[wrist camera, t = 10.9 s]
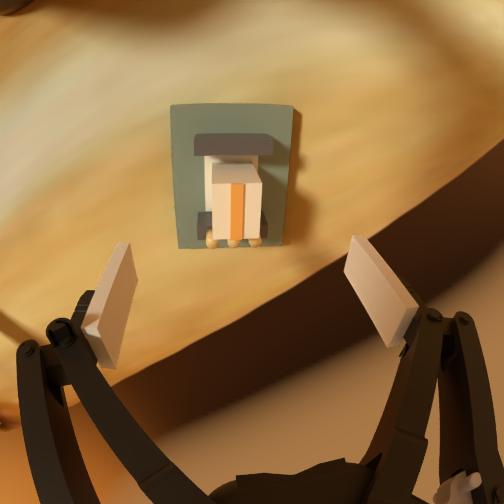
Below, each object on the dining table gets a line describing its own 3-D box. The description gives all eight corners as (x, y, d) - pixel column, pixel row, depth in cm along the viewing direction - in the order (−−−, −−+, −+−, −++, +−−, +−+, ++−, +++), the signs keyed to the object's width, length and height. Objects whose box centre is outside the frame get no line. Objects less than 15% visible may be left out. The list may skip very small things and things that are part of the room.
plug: (212, 162, 28) (211, 184, 22) (251, 161, 29) (262, 184, 23) (212, 207, 31) (212, 240, 25) (249, 206, 32) (259, 239, 25)
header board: (172, 105, 26) (160, 109, 20) (289, 105, 28) (310, 111, 22) (179, 242, 35) (173, 277, 29) (279, 239, 36) (292, 273, 30)
